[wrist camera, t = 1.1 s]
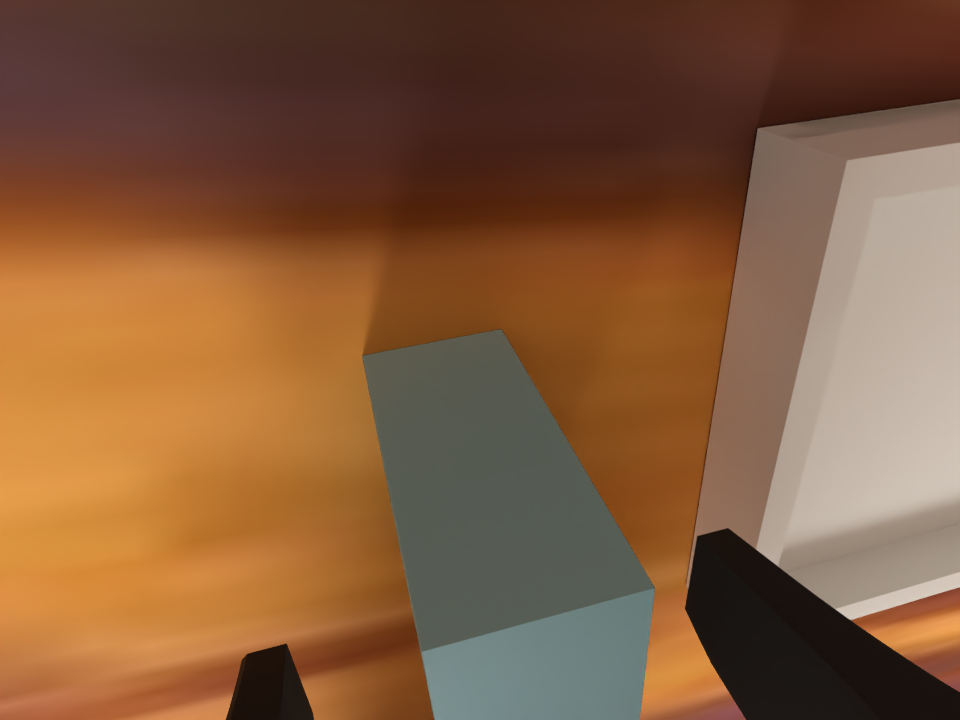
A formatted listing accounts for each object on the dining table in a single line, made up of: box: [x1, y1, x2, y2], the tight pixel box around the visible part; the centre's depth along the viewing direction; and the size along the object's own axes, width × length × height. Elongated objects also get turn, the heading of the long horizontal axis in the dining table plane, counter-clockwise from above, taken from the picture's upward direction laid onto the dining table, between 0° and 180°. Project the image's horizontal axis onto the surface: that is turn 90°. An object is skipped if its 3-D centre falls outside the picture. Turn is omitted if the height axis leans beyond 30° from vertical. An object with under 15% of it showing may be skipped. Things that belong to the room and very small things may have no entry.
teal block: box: [362, 329, 655, 720], centre depth 12 cm, size 6×3×7 cm, turn 4°
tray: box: [686, 99, 960, 620], centre depth 17 cm, size 14×12×2 cm
